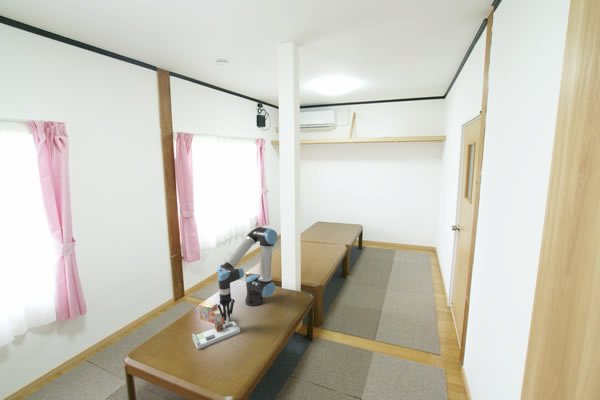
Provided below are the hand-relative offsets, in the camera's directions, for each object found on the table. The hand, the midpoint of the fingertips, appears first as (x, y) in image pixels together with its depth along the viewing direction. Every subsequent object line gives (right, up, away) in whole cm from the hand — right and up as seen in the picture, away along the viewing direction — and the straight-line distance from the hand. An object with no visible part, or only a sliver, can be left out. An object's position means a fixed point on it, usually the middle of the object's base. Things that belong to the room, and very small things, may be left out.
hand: (227, 323), depth 197 cm
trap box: (-5, -5, -7) cm, 10 cm away
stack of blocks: (-14, -3, +12) cm, 19 cm away
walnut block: (-5, -2, -4) cm, 6 cm away
